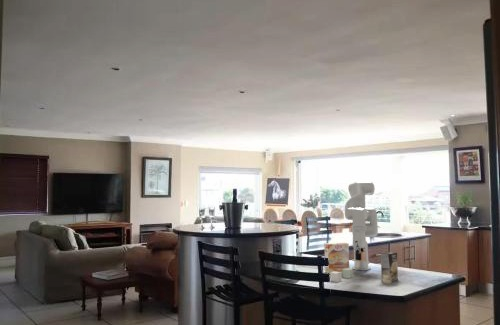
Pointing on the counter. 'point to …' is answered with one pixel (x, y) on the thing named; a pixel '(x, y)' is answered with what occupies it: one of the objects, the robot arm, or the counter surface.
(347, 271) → the sage block
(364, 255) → the terracotta block
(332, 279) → the off-white block
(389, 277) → the birch cylinder
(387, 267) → the coffee box
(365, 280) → the counter surface
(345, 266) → the coffeecake box
